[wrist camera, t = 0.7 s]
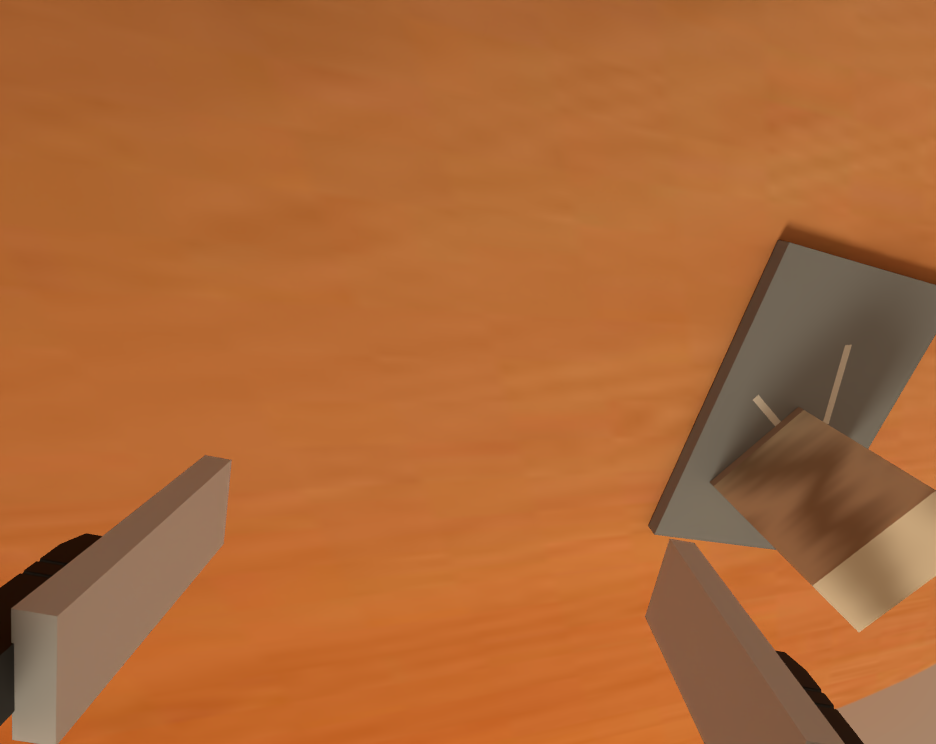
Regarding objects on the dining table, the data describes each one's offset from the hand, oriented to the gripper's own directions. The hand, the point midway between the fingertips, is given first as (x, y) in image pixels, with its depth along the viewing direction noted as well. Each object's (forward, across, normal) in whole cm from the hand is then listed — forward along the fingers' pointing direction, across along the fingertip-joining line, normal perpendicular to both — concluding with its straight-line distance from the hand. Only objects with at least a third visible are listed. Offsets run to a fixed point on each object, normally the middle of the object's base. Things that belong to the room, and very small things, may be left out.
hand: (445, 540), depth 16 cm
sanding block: (+22, +24, -3) cm, 33 cm away
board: (+23, +24, +1) cm, 33 cm away
